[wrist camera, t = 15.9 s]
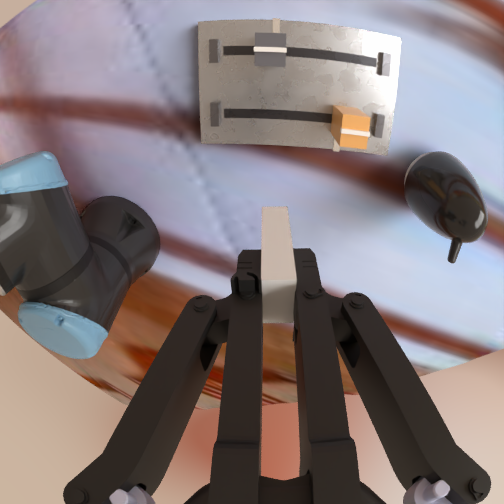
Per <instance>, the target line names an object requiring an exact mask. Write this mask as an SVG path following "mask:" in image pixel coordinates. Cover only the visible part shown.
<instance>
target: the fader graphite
mask: <svg viewBox="0 0 504 504" xmlns="http://www.w3.org/2000/svg"><path fill="white" fill-rule="evenodd" d="M254 52H255V60H254V66H271V67H285V66H286V53H287V48H286V33H258V32H255V47H254Z"/></svg>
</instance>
